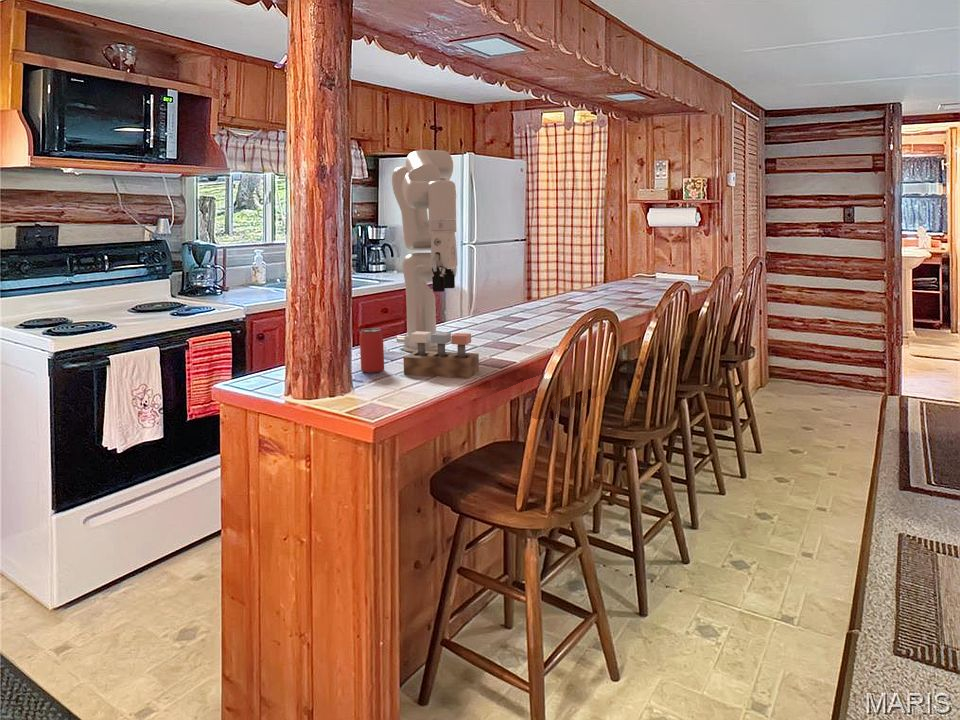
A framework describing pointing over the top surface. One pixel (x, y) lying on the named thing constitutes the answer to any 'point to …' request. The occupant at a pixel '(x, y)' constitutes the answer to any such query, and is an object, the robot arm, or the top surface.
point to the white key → (421, 340)
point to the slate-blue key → (441, 342)
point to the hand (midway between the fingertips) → (444, 289)
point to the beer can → (371, 350)
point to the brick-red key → (461, 342)
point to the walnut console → (441, 364)
